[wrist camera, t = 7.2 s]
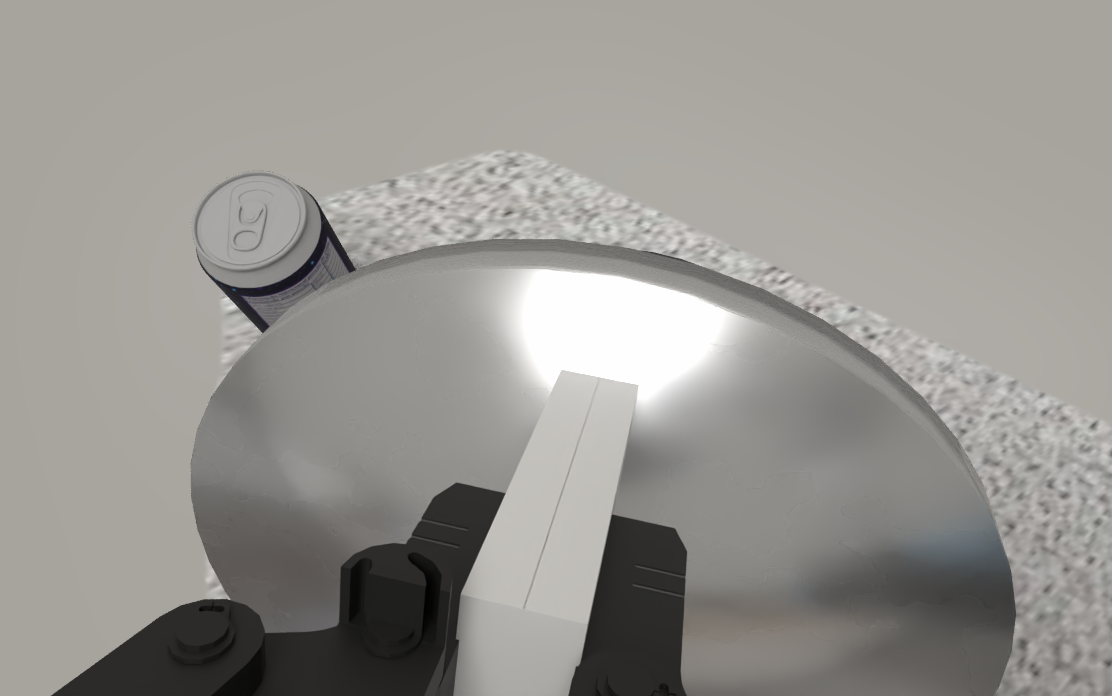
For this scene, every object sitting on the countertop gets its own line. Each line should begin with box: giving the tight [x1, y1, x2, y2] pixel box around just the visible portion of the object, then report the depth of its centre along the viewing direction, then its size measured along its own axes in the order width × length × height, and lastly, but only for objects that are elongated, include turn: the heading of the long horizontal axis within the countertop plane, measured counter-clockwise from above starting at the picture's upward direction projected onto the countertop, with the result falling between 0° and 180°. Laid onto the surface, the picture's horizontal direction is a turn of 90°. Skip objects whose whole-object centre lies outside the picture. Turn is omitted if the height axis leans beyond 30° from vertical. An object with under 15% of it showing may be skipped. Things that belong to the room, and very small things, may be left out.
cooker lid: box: [191, 239, 1016, 696], centre depth 20 cm, size 20×20×2 cm
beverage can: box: [192, 171, 356, 333], centre depth 39 cm, size 6×6×12 cm
